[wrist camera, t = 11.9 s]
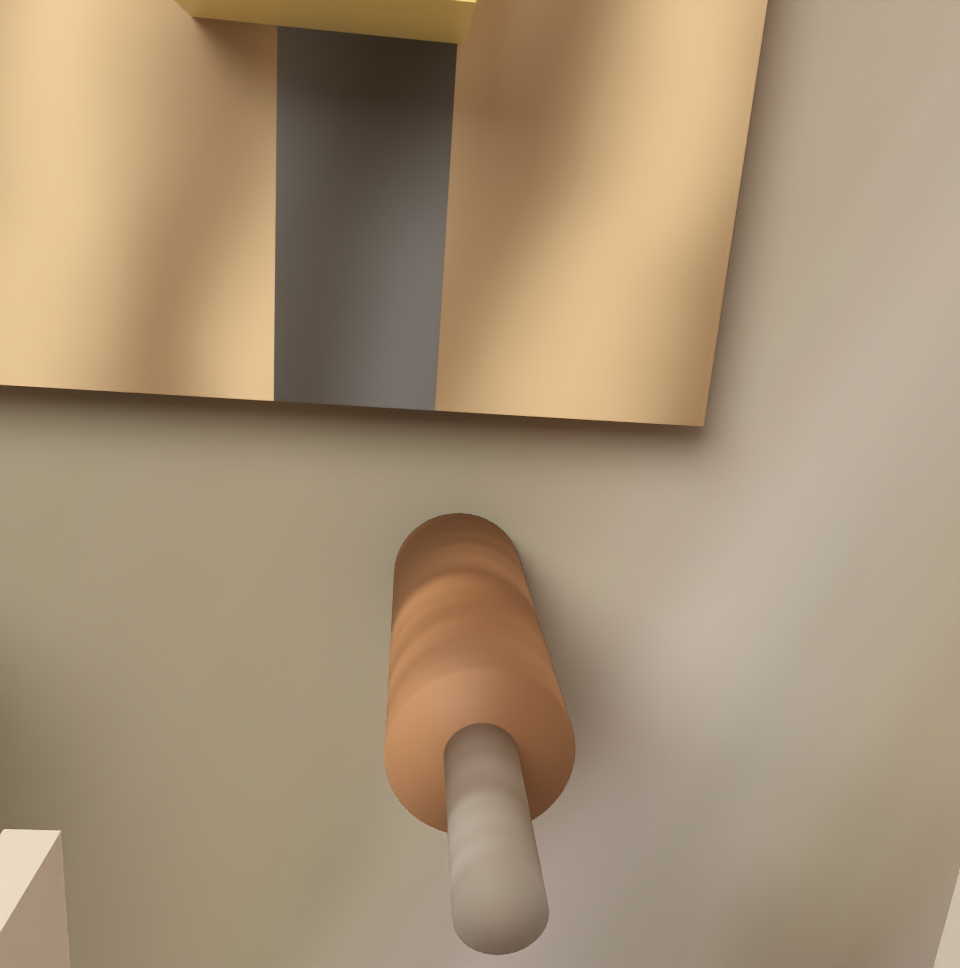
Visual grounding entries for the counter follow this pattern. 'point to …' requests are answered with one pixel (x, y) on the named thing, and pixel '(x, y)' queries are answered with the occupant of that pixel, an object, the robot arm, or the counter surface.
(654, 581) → the counter surface
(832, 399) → the counter surface
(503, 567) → the awl
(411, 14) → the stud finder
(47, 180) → the plywood board
